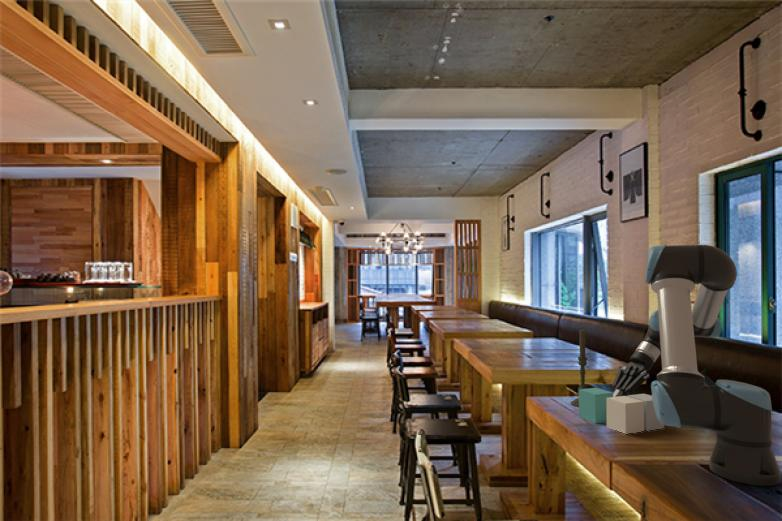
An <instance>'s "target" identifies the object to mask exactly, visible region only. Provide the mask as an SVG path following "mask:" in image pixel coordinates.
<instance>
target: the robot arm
mask: <svg viewBox="0 0 782 521" xmlns="http://www.w3.org/2000/svg"><path fill="white" fill-rule="evenodd" d="M737 277H738V270H737V266H736V264H735V262H734V260H733V259H732V258H731V257H730V255H728V253H726V252H725V251H724V250H722V249H720V248H719V247H716V246H713V245H709V244H690V245H689V244H685V245H684V244H683V245H680V244H679V245H677V244H675V245H667V244H664V245H654V246H651V247H650V248H649V249H648V255H647V261H646V270H645V277H644V278H645V279H644V281H645V284H648V285H650V289H651V290H652V292H654V293H655V294H656V296H657V298H656V299H657V310H655V311H653V312H652V313H651V314H650V316H649V320H648V327H647V328H648V329H647V331H646V334H645V336H644V338H643V339H642V341H641V342H640V343H639V345H638V346H637V348H636V349H635V351H634V352H633V353H632V355H631V356H630V357H629V362H628V363H627V364H626V365H625V366H621V365H619V366H618V371H617V373H616V375H615V378H614V380H613V382H612V385H611V387H612V388H613V389H614V390H613V391H612V392H613V397H619V396H627V395H633V394H634V392H636V390H637V389H638V388H640V387H641V385H642V384H643V383H645V381H648V380H649V379H651V376H650V374H649V371H650V370H651V368H653V365H654V363H656V361H657V359H658V358H659V356H661V357H660V359H661V369H662V370H661V371H660V372H658V373H657V374H656V380H653V381H652V382H651V384H650V390H651V396H652V400H653V405H654V409H655V413H656V416H657V419H658V420H659V422H660V423H661V424H663V425H664V426H668V427H675V428H678V429H681V428H686V429H694V430H703V431H704V430H705V431H714V432H716V442H715V444H714V446H713V449H712V452H711V454H710V458H709V470H710V471H711V472H712V473H714V474H715V475H716V476H719V477H721V478H724V479H726V480H729V481H732V482H736V483H740V484H745V485H752V486H762V487H763V486H765V487H769V486H770V487H771V486H777V485H780V484H781V483H782V472H781V468H780V466H779V463H778V461H777V458H776V456H775V453H774V451H773V443H772V441H773V440H772V436H773V434H772V432H773V431H772V411H773V408H772V400H771V395H770V393H769V392H768V391H767V390H766V389H764V388H762V387H760V386H756V385H753V384H750V383H747V382H741V381H736V380H730V379H717V380H716V382H714V383H715V386H714V385H706V384H705V377H704V376H703V375H702V374H700V373H699V370H698V363H697V361H698V360H697V352H696V351H697V350H696V341H695V338H696V337H697V338H718V337H720V335H721V330H722V324H721V323H722V322H721V319H720V317H718V316H719V315H720V314H719V313H720V312H721V309H722V305H723V304H724V301H725V298H726V296H727V293H728V291H729V290H731V289H732V288H733V287H734V285H735V283H736V280H737ZM696 284H698V285H699V286H698V290H697V293H696V297H695V301H694V302H693V306H692V300H691V292H693V291H694V290H695V288H696ZM692 307H693V308H692Z"/></svg>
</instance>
